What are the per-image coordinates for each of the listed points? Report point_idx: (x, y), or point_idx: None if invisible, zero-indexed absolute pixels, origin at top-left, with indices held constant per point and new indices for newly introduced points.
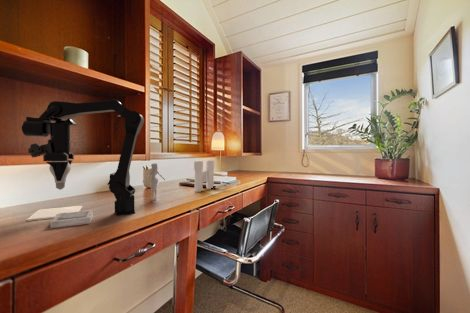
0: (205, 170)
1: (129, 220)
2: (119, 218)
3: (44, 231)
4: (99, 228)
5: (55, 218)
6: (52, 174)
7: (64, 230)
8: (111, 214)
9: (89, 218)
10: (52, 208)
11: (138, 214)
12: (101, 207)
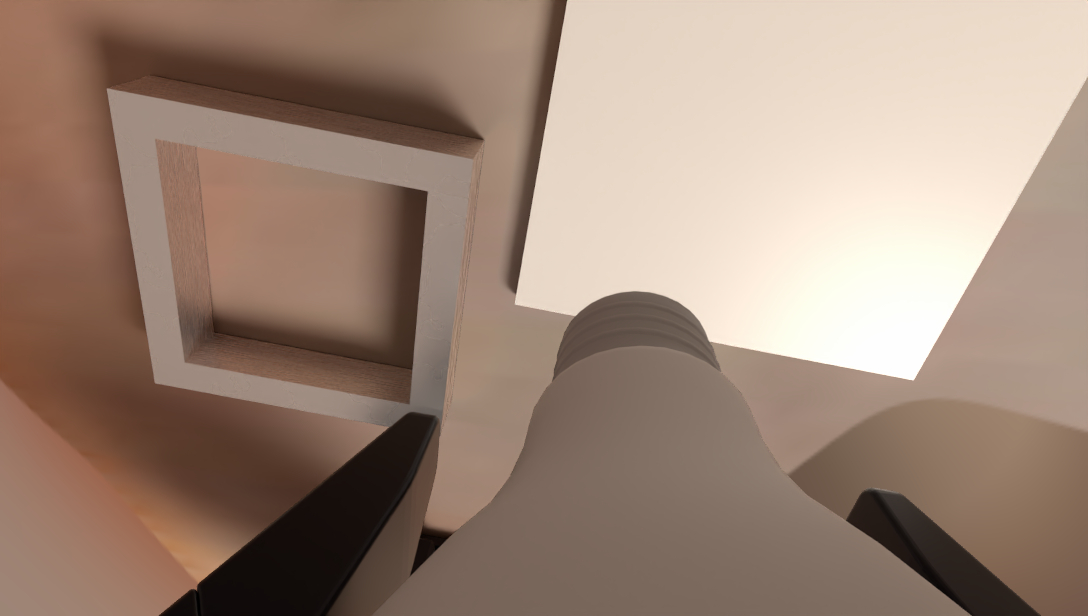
0: None
1: (166, 543)
2: (246, 514)
3: (70, 30)
4: (32, 382)
5: (235, 135)
6: (609, 462)
7: (51, 181)
8: None
9: (158, 374)
10: (1074, 85)
11: None
12: None
